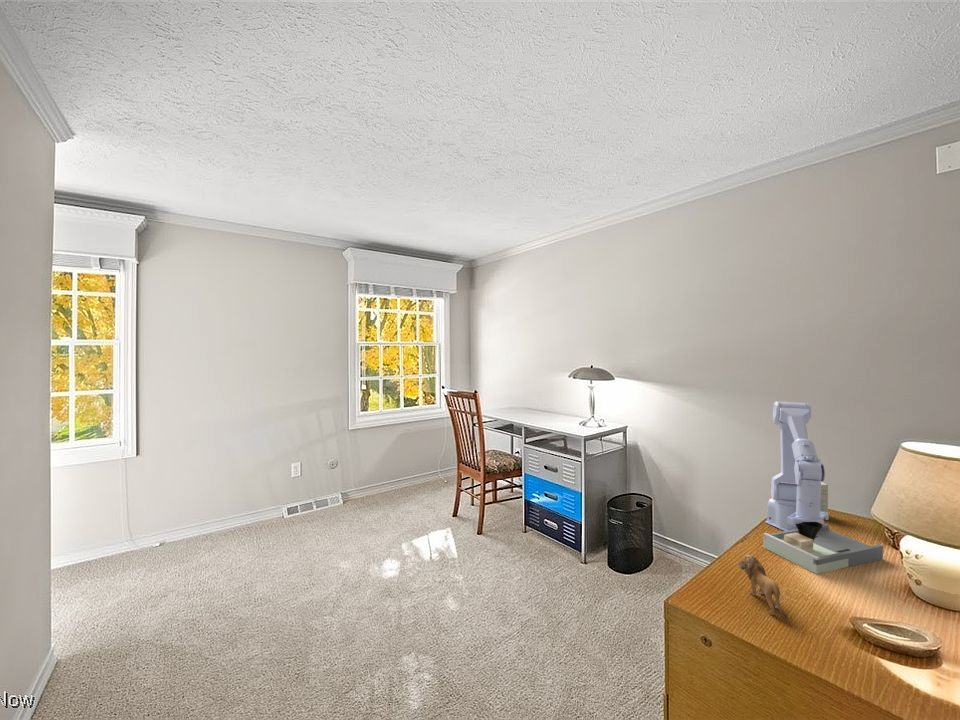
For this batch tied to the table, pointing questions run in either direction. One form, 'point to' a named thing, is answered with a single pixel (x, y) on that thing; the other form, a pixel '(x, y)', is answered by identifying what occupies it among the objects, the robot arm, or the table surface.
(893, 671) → the table surface
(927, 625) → the table surface
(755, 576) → the lion figurine
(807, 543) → the birch block
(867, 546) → the trap box
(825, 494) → the skincare box
